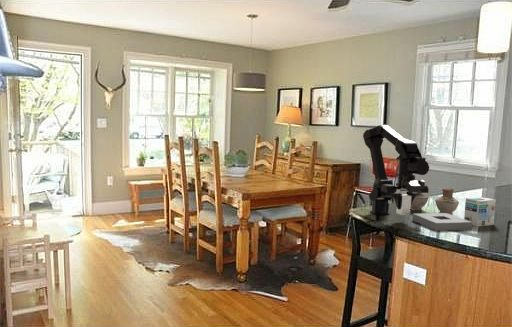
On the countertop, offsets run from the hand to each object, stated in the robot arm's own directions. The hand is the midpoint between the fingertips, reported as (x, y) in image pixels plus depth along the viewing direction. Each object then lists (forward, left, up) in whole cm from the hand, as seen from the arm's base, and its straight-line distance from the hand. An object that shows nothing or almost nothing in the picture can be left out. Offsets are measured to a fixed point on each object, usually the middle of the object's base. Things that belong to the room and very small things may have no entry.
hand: (403, 209), depth 178 cm
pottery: (+24, +18, -6) cm, 31 cm away
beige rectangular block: (0, 0, -2) cm, 2 cm away
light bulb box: (+32, -6, -6) cm, 33 cm away
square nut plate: (+14, -6, -6) cm, 16 cm away
